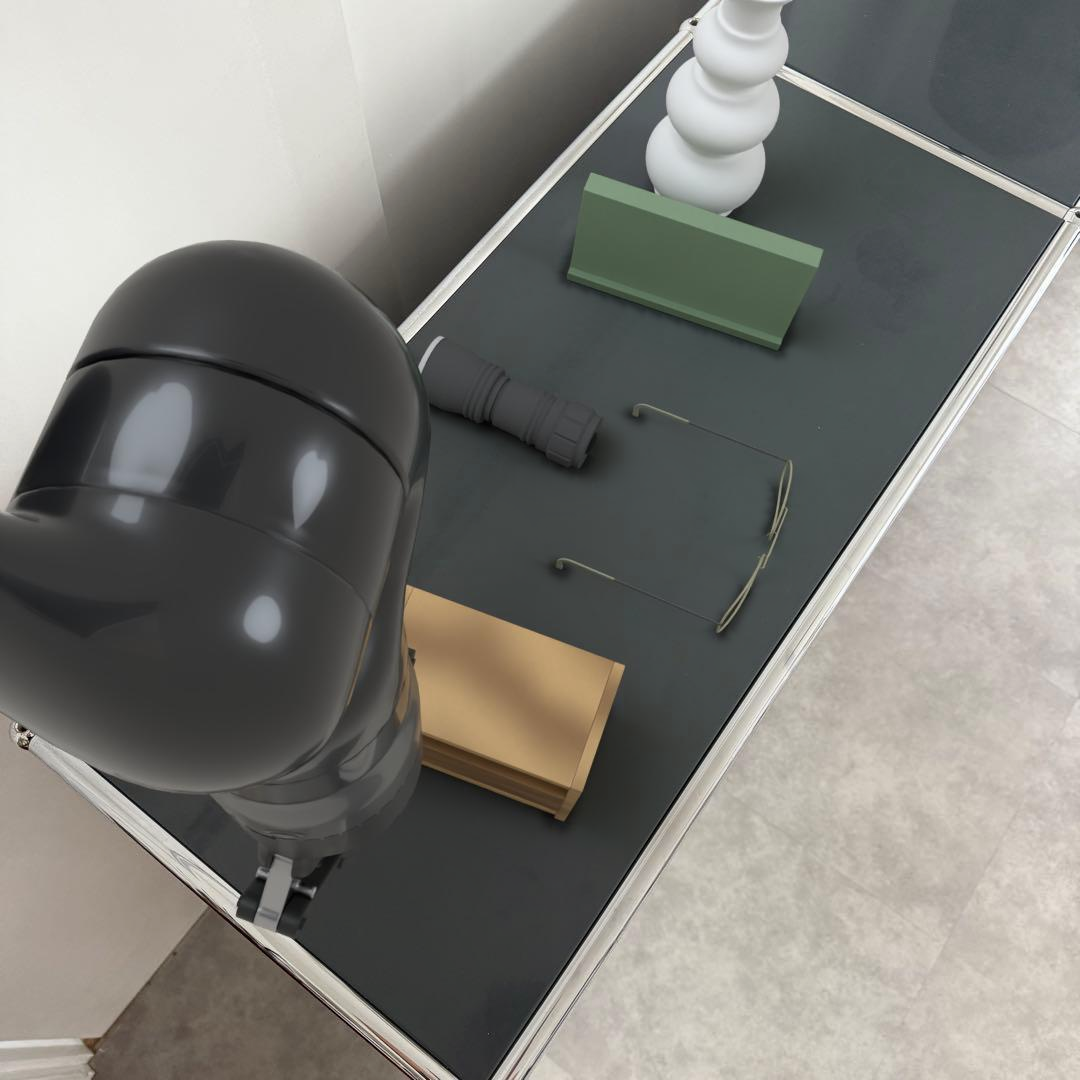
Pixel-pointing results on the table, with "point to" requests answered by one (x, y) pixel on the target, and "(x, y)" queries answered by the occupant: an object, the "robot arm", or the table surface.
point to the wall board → (690, 261)
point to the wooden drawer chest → (507, 702)
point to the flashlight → (507, 403)
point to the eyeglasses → (635, 413)
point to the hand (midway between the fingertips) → (347, 815)
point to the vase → (721, 108)
